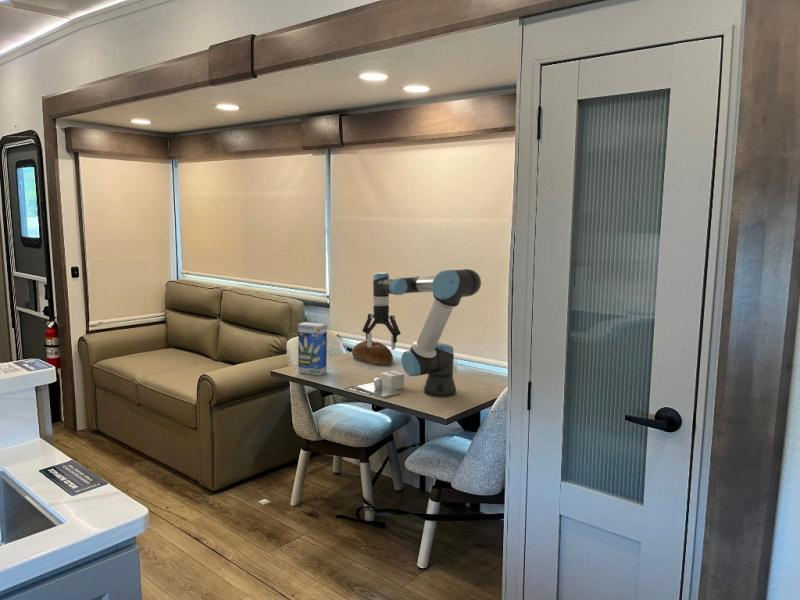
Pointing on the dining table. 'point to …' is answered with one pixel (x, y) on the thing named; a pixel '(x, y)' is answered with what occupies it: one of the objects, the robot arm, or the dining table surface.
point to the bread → (372, 353)
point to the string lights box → (312, 348)
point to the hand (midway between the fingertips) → (381, 348)
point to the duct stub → (378, 389)
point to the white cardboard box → (393, 380)
